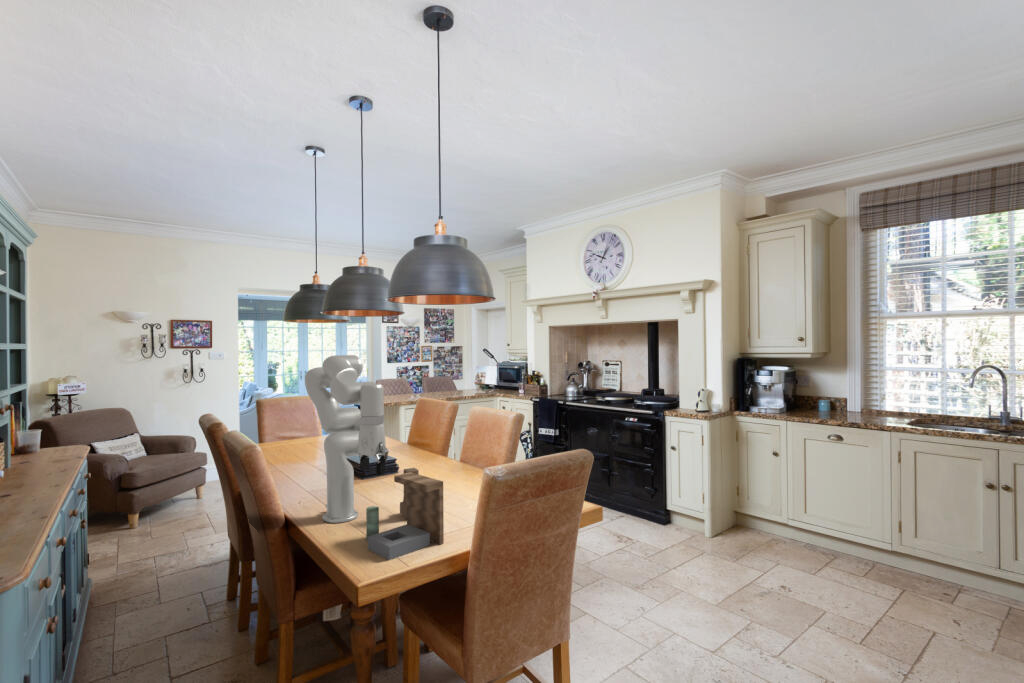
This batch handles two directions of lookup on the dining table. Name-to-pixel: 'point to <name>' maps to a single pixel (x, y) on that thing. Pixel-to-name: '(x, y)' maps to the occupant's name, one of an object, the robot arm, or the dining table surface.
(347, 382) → the robot arm
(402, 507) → the wooden block
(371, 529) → the peg
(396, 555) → the socket block
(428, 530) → the brown notched wall
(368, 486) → the dining table surface
